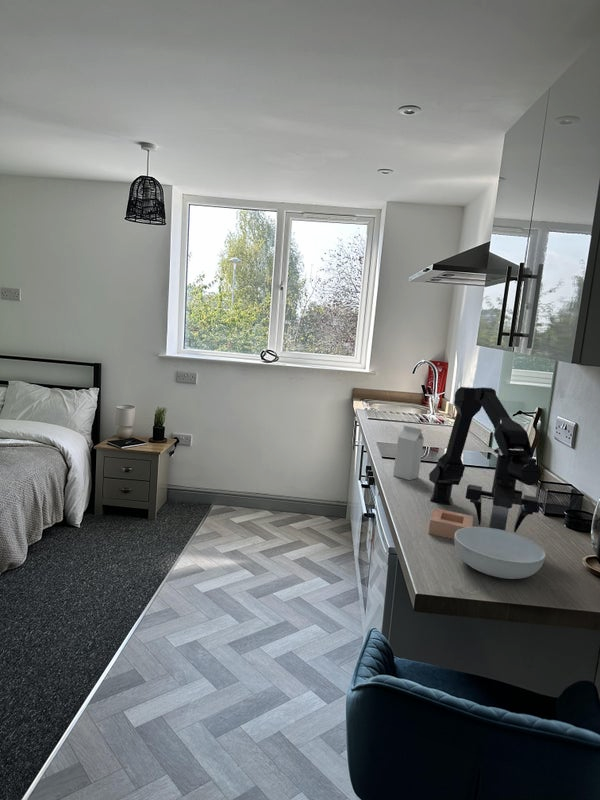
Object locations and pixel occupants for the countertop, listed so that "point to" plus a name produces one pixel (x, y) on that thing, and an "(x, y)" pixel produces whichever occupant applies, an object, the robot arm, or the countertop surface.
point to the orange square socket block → (448, 522)
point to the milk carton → (408, 453)
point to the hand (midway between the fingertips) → (496, 528)
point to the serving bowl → (499, 552)
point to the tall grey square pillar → (498, 517)
